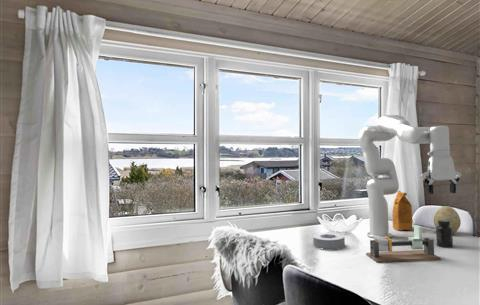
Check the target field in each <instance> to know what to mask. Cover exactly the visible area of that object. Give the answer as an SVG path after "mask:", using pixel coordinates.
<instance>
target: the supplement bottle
mask: <svg viewBox="0 0 480 305" xmlns="http://www.w3.org/2000/svg"><path fill="white" fill-rule="evenodd" d="M438 225H439V226H437V227H436V226H435V233H436V234H435V236H436V237H435V239H436V240H435V241H436V246H437V247H439V248H452V247H453V246H454V240H453V239H454V238H453V237H454V235H453V234H454V233H452V228H451V227H450V226H449V225H450V221H447V220H438Z"/></svg>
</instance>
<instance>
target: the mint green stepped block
mask: <svg viewBox="0 0 480 305" xmlns="http://www.w3.org/2000/svg"><path fill="white" fill-rule="evenodd" d="M413 235H414V236H408V237H407V241H412V245H409V246H407V247H408V248H410V249H411V250H424V245H423V244H422V240H423V227H422V226H420V225H417V224H414V225H413Z"/></svg>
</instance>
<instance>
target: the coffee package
mask: <svg viewBox="0 0 480 305" xmlns="http://www.w3.org/2000/svg"><path fill="white" fill-rule="evenodd" d="M395 196H396V197H395V198H394V201H393V206H392V207H393V208H392V228H394V230H396V231H397V232H398V231H399V232H402V231H410V230H413V220H414V219H413V213H412V211H413V209H412V204H411V202H410V201H409V199H408V198H407V193H406V192H402V191H401V190H398V191H397V192H396V195H395Z"/></svg>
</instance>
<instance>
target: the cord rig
mask: <svg viewBox="0 0 480 305" xmlns="http://www.w3.org/2000/svg"><path fill="white" fill-rule="evenodd" d="M434 240H435V239H432V238H430V237H423V239H422V244H423V249H415V250H399V251H397V250H396V251H395V250H394V251H393V247H408V246H409V245H412V241H408V240H399V241H392V238H388V237H384V238H383V237H382V238H373V239H372V240H371V239H370V240H369V246H370V252H365V255H366V256H367V257H368V258H369V259H371V260H372V259H373V260H372V261H374V262H375V261H376V262H375V263H377V264H384V263H383V262H386V263H403V262H404V263H406V262H422V261H423V262H424V261H425V262H426V261H441V259H442V258H441V257H440V256H438V255H436V254H435V242H434Z"/></svg>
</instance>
